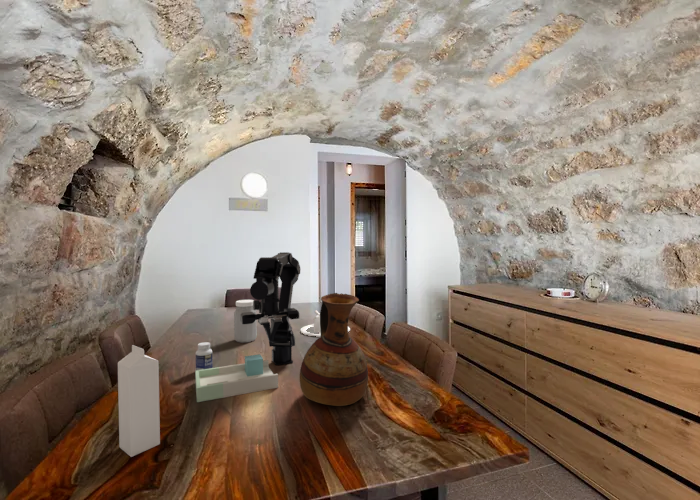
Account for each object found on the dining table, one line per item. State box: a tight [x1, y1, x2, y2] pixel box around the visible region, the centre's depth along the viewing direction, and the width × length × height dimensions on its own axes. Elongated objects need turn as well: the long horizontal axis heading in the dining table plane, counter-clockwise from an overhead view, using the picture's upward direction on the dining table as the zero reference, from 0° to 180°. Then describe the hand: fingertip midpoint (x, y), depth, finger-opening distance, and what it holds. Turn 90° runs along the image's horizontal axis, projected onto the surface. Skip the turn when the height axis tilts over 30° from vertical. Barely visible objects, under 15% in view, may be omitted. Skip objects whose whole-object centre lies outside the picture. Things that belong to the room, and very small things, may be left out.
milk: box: [117, 344, 161, 458], centre depth 77 cm, size 6×6×22 cm
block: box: [244, 353, 264, 376], centre depth 115 cm, size 5×5×5 cm
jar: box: [233, 299, 257, 344], centre depth 161 cm, size 10×10×18 cm
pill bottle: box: [195, 341, 214, 371], centre depth 122 cm, size 5×5×10 cm
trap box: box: [194, 359, 279, 403], centre depth 110 cm, size 23×15×4 cm, turn 115°
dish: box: [300, 309, 351, 338], centre depth 177 cm, size 25×25×11 cm
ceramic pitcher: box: [299, 292, 369, 407], centre depth 101 cm, size 20×20×30 cm
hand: (270, 341), depth 118 cm, fingers closed
